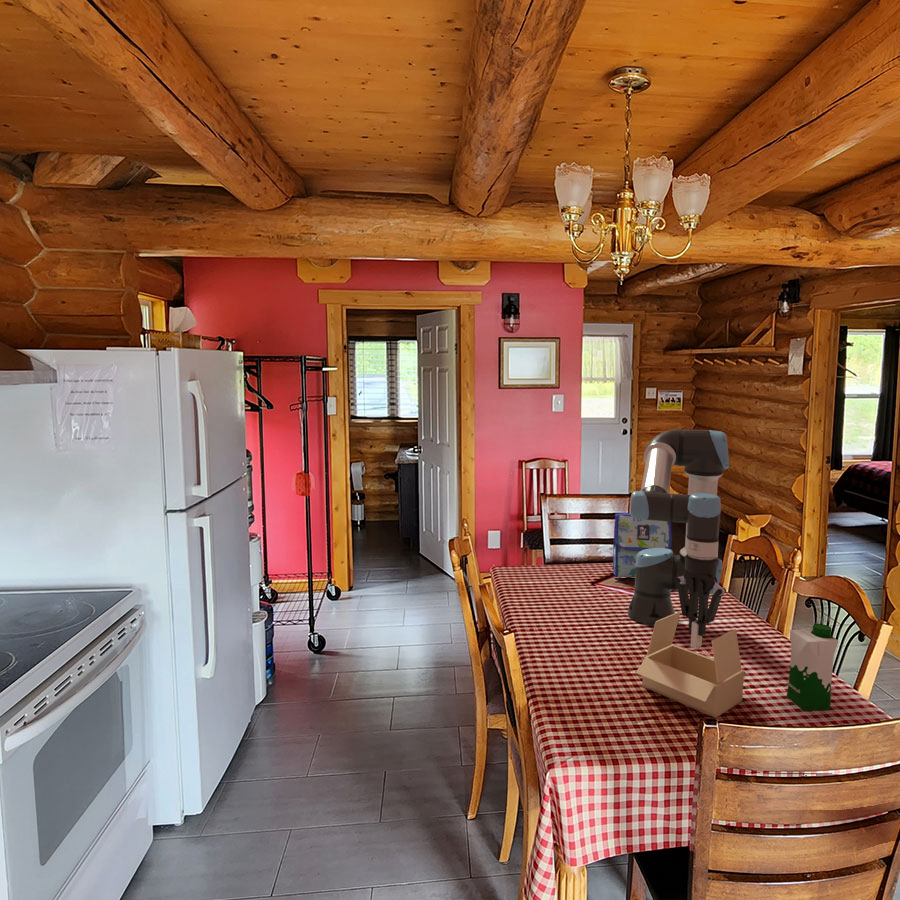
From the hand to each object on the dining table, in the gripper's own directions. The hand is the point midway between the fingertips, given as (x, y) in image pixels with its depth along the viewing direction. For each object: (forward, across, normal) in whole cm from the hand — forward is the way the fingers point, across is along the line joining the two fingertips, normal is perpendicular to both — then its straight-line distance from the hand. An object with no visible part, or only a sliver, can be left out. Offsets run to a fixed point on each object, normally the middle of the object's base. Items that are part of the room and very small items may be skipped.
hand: (696, 646), depth 165 cm
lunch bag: (+13, -66, +74) cm, 100 cm away
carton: (+13, -1, 0) cm, 13 cm away
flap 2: (+5, +9, 0) cm, 10 cm away
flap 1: (+5, -10, 0) cm, 11 cm away
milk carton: (+13, +20, +19) cm, 31 cm away
